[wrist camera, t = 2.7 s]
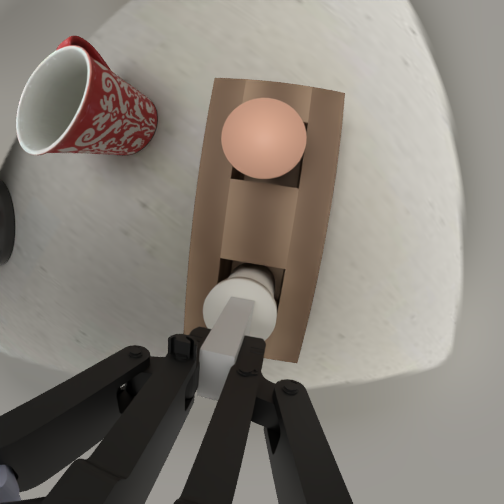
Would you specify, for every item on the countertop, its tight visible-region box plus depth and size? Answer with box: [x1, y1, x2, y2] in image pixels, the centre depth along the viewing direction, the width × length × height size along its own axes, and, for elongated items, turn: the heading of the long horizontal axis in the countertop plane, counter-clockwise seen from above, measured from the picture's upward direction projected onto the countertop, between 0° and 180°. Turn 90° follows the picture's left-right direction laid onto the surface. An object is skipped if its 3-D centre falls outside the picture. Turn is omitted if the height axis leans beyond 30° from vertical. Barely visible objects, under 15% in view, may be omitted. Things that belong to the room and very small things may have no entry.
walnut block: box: [184, 78, 345, 363], centre depth 24 cm, size 10×22×7 cm, turn 172°
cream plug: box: [203, 262, 277, 341], centre depth 21 cm, size 5×5×7 cm
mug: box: [16, 36, 157, 155], centre depth 21 cm, size 13×9×14 cm
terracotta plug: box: [221, 98, 307, 179], centre depth 18 cm, size 5×5×7 cm
